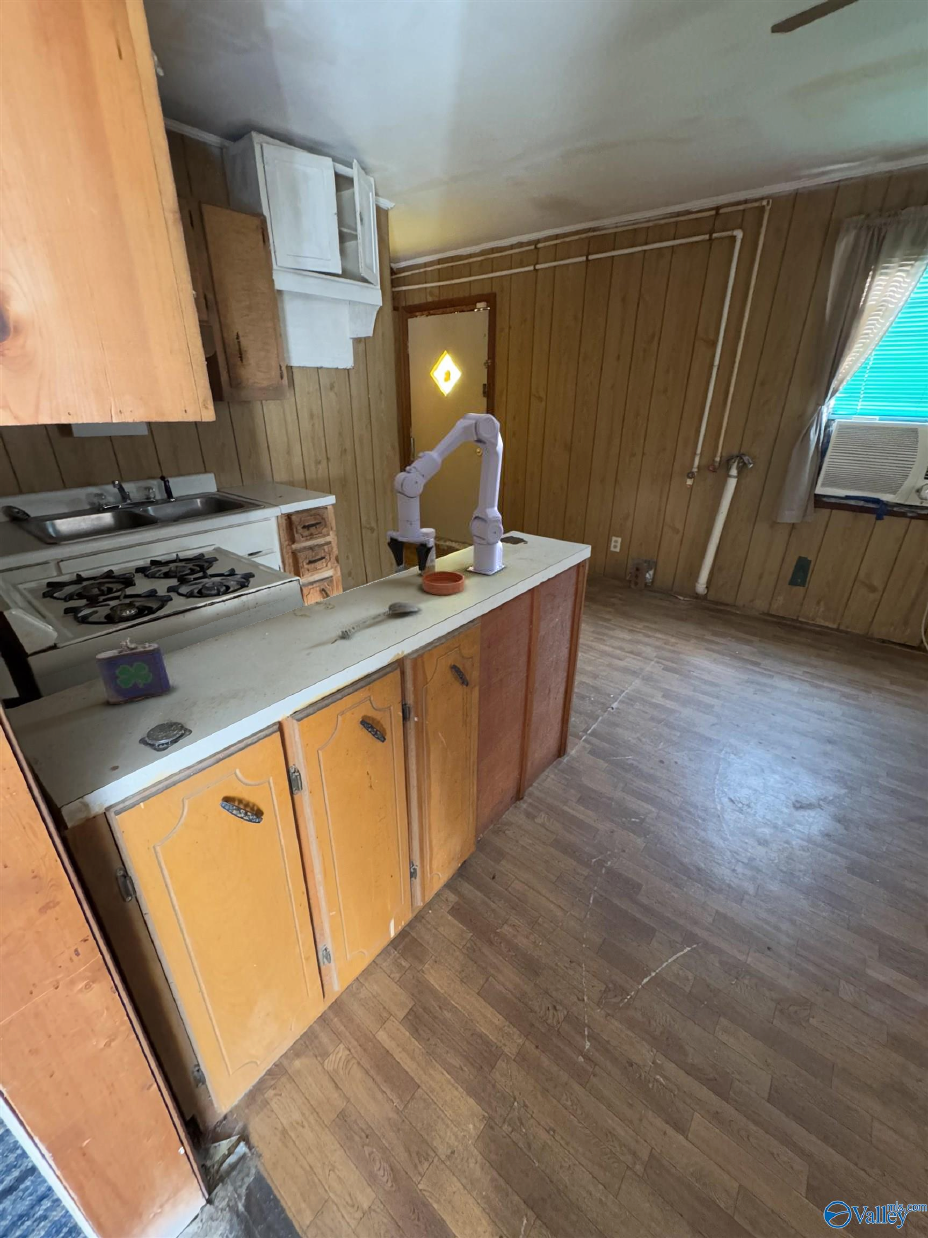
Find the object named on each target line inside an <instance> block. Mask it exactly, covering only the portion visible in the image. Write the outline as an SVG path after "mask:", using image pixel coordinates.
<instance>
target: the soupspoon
mask: <svg viewBox="0 0 928 1238" xmlns="http://www.w3.org/2000/svg"><path fill="white" fill-rule="evenodd" d="M416 611H417V612H418V611H419V608H418V607H417V606H416V605H414V604H413V603H411V602H407V601H394V602H393V603H390V604H389V606H388V610H387V611H384V612H382V613H379V614H378V615H375V616H373V617H371V618H369V619H367V620H365V621H363V622H361V623H358V624H356V625H355V626H351V628H350V627H349V628H348V629H345V630H341V631H340V633H341V635H342V636H343V637H344V638H348V636H349V634H350V633H352V632H353V631H356V629H359V628H361V627H362V626H365V625H367V624H369V623H371V622H373V621H376V620H377V619H380V618H383V617H385V616H388V615H391V614H396V613H405V612H406V613H408V612H416Z"/></svg>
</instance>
